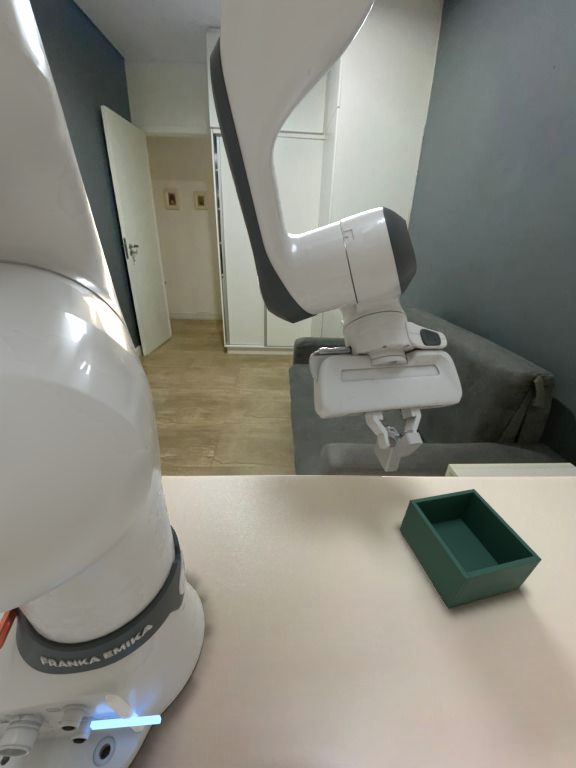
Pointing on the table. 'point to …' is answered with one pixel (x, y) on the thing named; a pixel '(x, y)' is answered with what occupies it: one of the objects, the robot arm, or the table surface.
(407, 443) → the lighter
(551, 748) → the table surface
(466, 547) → the bin
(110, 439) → the robot arm
